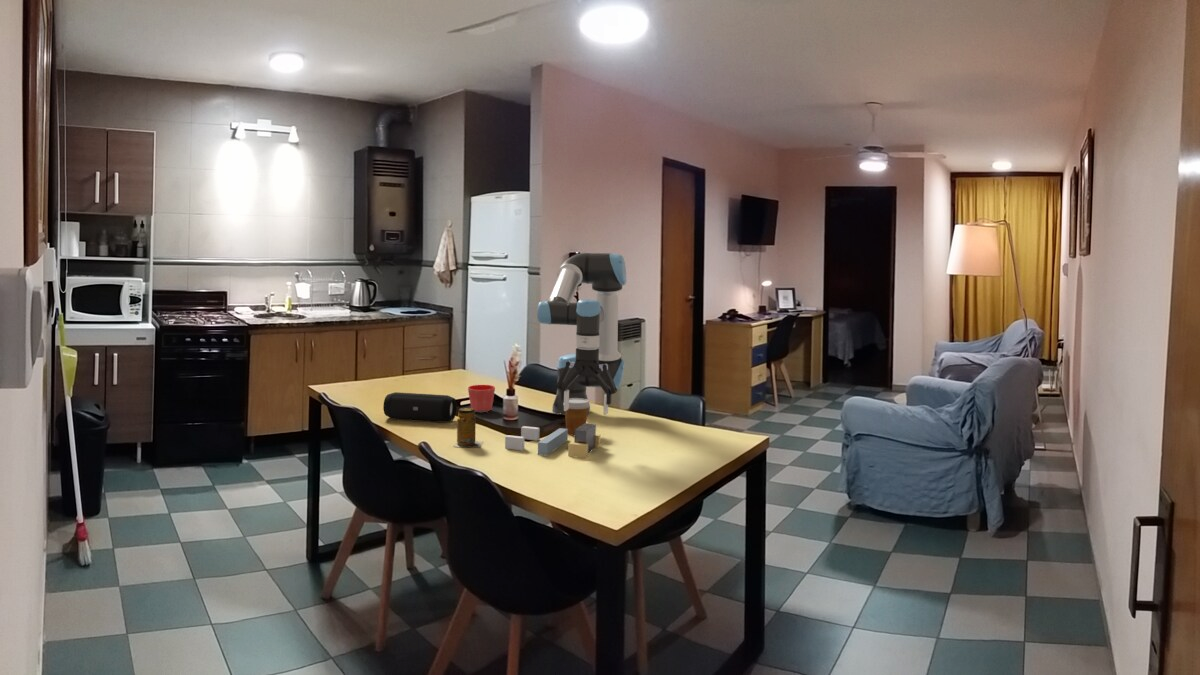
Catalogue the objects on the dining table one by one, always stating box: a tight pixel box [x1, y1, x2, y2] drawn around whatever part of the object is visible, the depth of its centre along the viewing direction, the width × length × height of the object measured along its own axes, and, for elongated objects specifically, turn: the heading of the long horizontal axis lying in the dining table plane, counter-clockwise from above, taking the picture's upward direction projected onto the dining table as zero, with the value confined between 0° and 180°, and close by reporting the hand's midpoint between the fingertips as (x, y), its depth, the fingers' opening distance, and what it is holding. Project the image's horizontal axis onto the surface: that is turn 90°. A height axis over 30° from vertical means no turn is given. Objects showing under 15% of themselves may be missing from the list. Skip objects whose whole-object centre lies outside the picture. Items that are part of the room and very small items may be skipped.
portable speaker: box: [382, 391, 458, 423], centre depth 281 cm, size 26×10×10 cm, turn 83°
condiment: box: [453, 407, 484, 448], centre depth 250 cm, size 7×8×12 cm
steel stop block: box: [573, 422, 597, 454], centre depth 247 cm, size 10×4×8 cm, turn 163°
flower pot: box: [467, 384, 496, 411], centre depth 299 cm, size 11×11×10 cm
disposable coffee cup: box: [563, 398, 591, 436], centre depth 268 cm, size 10×10×12 cm
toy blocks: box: [504, 425, 601, 459], centre depth 250 cm, size 20×28×4 cm
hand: (585, 412), depth 246 cm, fingers open, 13 cm apart
